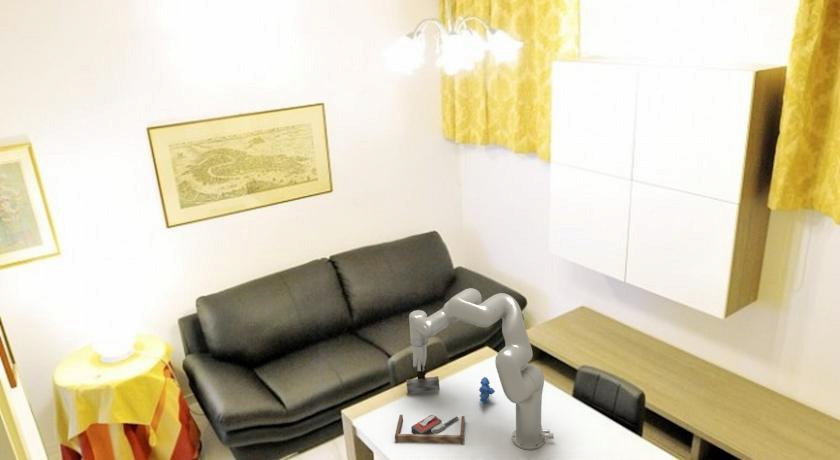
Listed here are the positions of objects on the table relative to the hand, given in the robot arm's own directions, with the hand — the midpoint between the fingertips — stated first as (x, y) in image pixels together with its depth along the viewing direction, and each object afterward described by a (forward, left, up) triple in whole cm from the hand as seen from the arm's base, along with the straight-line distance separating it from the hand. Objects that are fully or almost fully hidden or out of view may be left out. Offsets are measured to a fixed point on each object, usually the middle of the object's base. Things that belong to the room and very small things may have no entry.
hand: (421, 376), depth 265 cm
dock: (-6, +26, -9) cm, 28 cm away
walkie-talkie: (-7, +23, -9) cm, 25 cm away
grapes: (-28, +6, -9) cm, 30 cm away
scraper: (0, 0, -7) cm, 7 cm away
